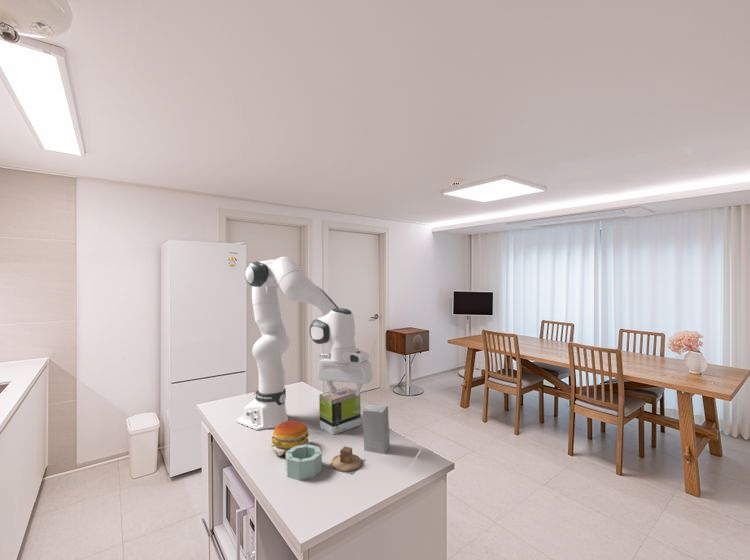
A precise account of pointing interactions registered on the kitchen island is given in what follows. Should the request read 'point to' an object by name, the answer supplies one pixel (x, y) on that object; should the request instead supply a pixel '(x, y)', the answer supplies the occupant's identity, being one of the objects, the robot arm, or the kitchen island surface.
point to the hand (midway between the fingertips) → (345, 394)
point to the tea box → (339, 410)
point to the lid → (346, 461)
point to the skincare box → (376, 428)
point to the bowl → (303, 462)
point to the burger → (289, 436)
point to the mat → (346, 472)
